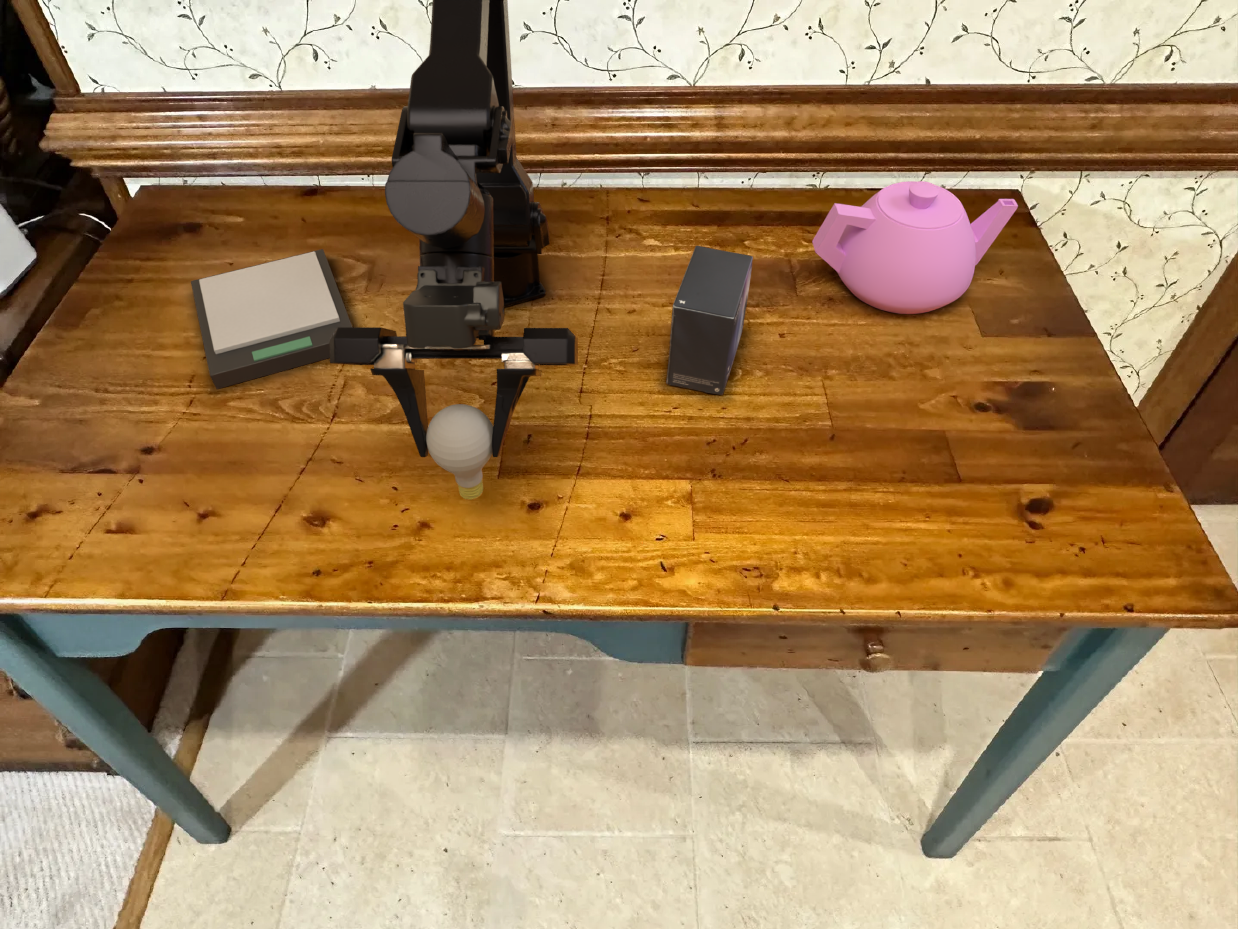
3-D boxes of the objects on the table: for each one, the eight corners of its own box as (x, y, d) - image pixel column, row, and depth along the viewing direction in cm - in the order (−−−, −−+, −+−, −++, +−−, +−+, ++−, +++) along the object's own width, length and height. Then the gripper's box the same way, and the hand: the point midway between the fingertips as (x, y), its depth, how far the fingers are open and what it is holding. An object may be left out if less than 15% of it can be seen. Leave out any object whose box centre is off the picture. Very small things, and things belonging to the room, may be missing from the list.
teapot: (823, 329, 97) (844, 236, 88) (790, 245, 107) (806, 154, 98) (1015, 315, 99) (1055, 222, 90) (965, 234, 109) (996, 143, 100)
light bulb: (516, 487, 76) (505, 407, 69) (477, 529, 74) (460, 451, 66) (468, 460, 78) (451, 380, 71) (427, 501, 75) (406, 422, 68)
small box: (726, 398, 90) (736, 319, 82) (664, 386, 91) (668, 306, 83) (744, 332, 97) (756, 253, 89) (687, 322, 98) (693, 243, 90)
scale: (327, 262, 105) (321, 244, 103) (360, 349, 95) (354, 331, 93) (196, 294, 101) (188, 276, 99) (216, 389, 91) (207, 371, 89)
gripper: (300, 240, 61) (306, 465, 62) (570, 241, 61) (570, 466, 62) (349, 263, 72) (354, 453, 73) (578, 263, 72) (578, 454, 73)
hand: (459, 457), depth 70 cm, fingers closed on light bulb, 5 cm apart
